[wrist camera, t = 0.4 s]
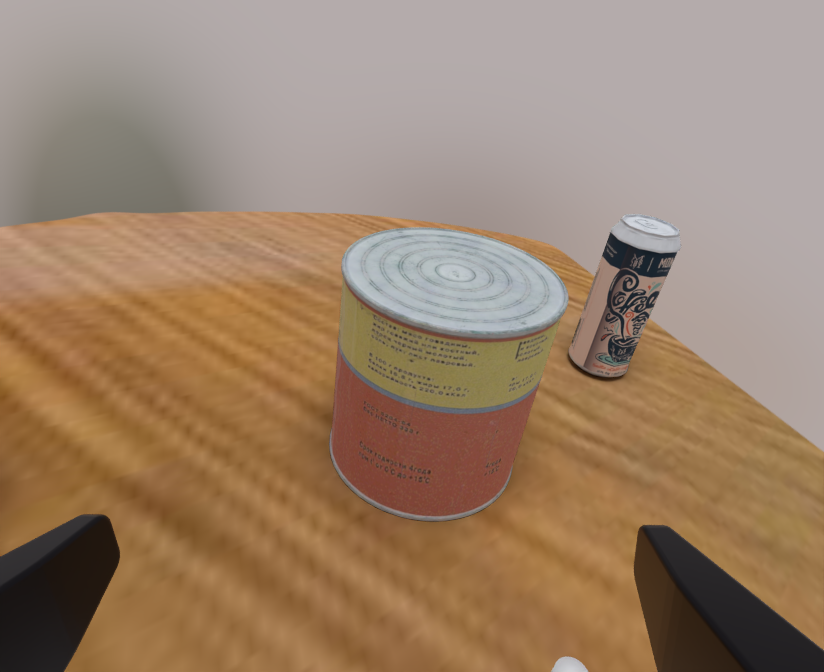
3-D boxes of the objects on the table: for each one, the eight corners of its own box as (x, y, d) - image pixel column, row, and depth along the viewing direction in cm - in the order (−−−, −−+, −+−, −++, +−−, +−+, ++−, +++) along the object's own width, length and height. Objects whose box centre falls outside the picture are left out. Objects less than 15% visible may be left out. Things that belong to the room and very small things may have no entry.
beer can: (591, 386, 41) (650, 239, 35) (555, 350, 45) (601, 212, 38) (638, 377, 43) (701, 237, 36) (599, 344, 46) (651, 211, 40)
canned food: (546, 456, 34) (609, 288, 27) (426, 561, 27) (473, 365, 20) (418, 368, 40) (444, 214, 33) (291, 434, 33) (294, 253, 26)
